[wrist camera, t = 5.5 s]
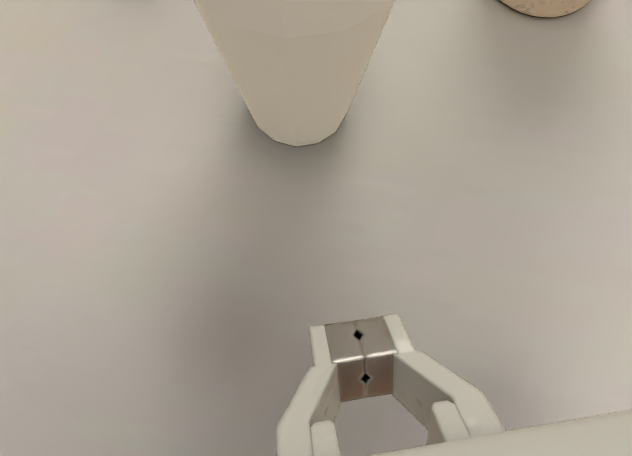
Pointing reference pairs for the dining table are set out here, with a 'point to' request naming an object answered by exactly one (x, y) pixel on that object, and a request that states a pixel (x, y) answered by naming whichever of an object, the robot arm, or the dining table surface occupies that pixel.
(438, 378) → the robot arm
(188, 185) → the dining table surface
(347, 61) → the foam cup
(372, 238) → the dining table surface
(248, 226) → the dining table surface
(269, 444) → the dining table surface
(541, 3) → the teacup with lid
